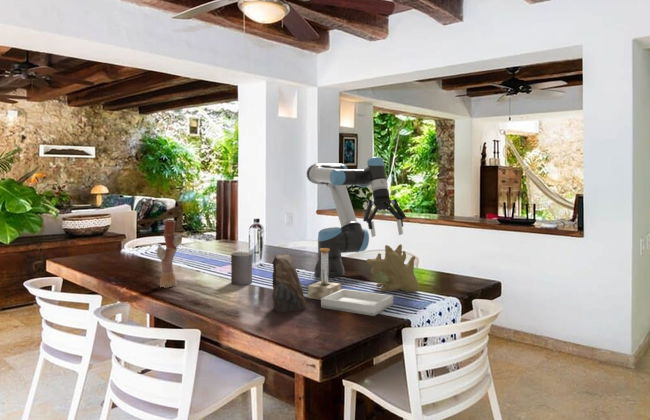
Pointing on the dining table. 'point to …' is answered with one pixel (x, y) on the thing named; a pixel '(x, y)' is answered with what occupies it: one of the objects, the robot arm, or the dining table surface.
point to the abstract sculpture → (168, 254)
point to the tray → (357, 302)
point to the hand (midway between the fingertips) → (387, 235)
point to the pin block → (322, 290)
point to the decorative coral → (395, 270)
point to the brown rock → (286, 285)
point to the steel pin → (324, 266)
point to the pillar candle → (241, 268)
